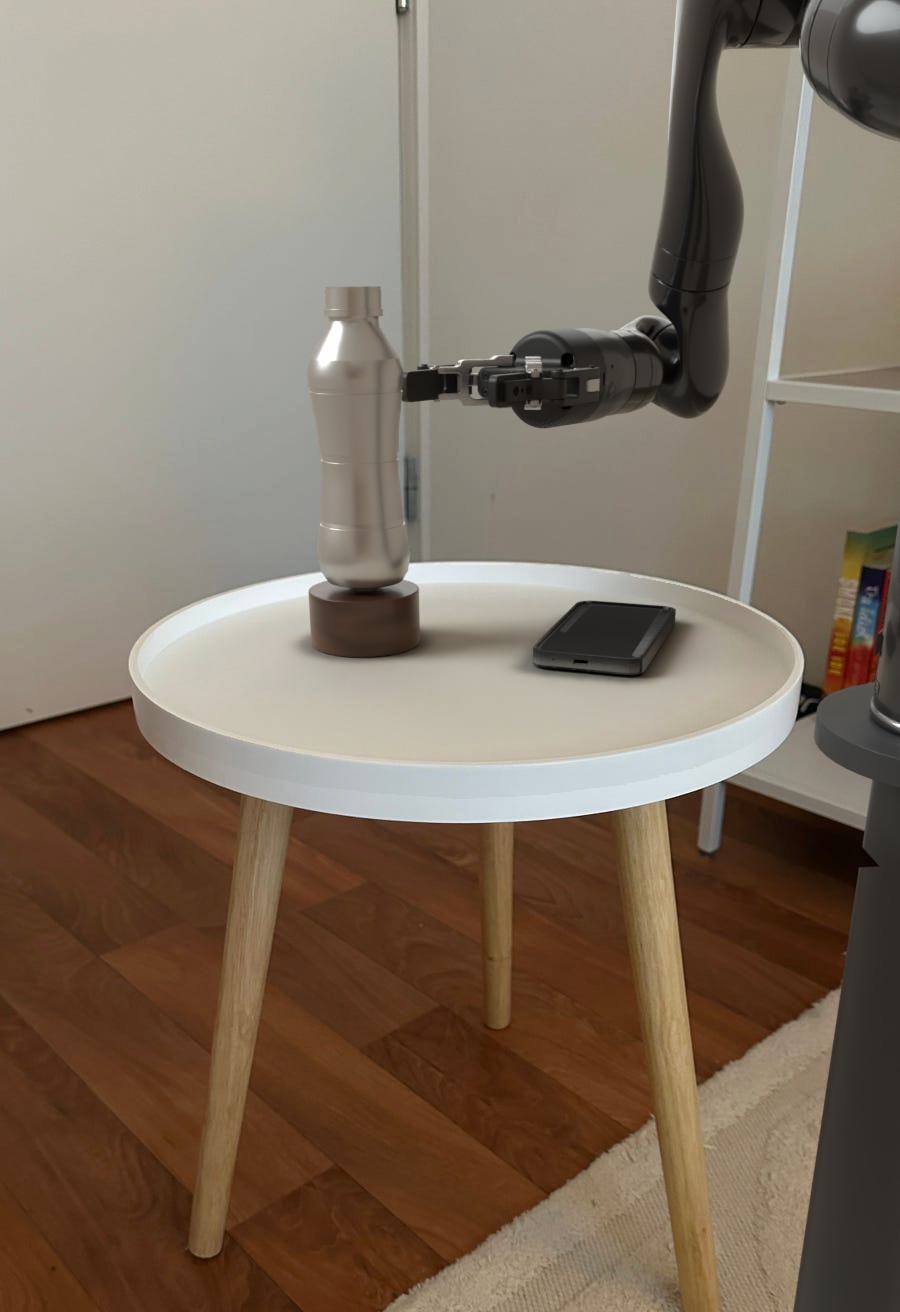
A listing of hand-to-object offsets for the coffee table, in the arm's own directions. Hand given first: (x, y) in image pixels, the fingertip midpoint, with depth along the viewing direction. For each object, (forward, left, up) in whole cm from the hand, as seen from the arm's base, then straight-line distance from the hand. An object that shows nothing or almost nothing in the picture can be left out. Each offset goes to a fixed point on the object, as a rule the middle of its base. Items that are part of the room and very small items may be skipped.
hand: (446, 389), depth 85 cm
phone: (-14, +1, -17) cm, 22 cm away
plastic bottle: (+2, +9, -13) cm, 16 cm away
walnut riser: (+2, +9, -17) cm, 20 cm away
